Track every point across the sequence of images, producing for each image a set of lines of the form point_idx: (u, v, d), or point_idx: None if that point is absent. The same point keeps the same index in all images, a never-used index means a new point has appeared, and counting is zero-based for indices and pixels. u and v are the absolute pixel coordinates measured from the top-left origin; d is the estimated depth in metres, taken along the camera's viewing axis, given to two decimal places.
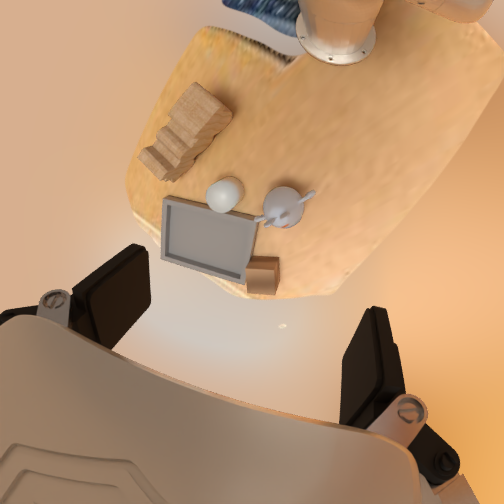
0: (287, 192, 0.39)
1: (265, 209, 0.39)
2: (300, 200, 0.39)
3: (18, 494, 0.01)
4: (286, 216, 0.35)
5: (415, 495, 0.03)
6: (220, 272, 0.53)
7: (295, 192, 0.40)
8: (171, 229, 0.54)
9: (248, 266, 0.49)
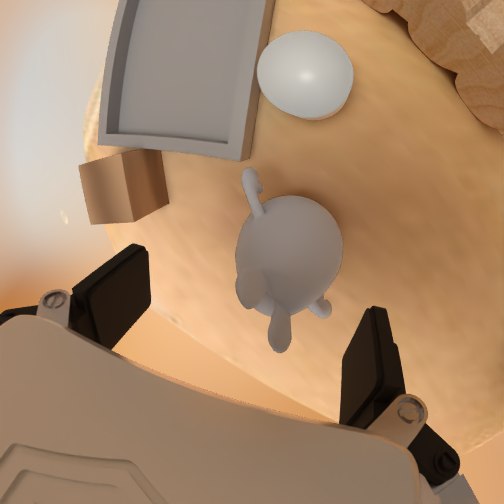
0: (335, 276, 0.15)
1: (289, 236, 0.12)
2: (313, 305, 0.15)
3: (18, 494, 0.01)
4: (282, 351, 0.11)
5: (415, 495, 0.03)
6: (112, 88, 0.18)
7: None
8: None
9: (127, 157, 0.17)
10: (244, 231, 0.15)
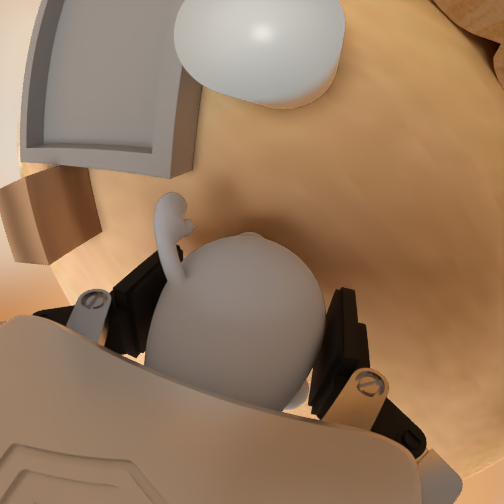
0: None
1: (214, 338, 0.06)
2: None
3: (18, 494, 0.01)
4: None
5: (415, 495, 0.03)
6: (32, 90, 0.11)
7: None
8: None
9: (34, 180, 0.11)
10: (157, 306, 0.08)
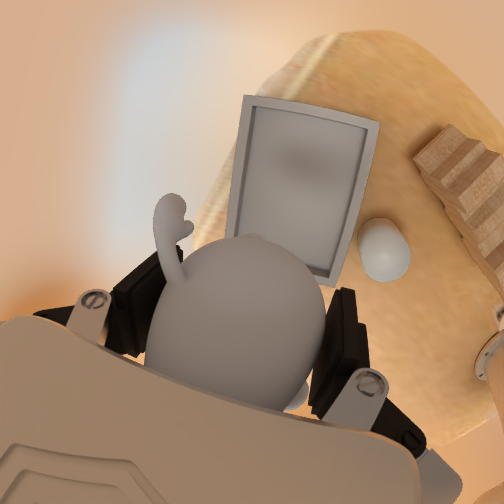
0: None
1: (214, 340, 0.06)
2: None
3: (18, 494, 0.01)
4: None
5: (415, 495, 0.03)
6: (236, 219, 0.30)
7: None
8: (309, 118, 0.25)
9: None
10: (156, 307, 0.08)
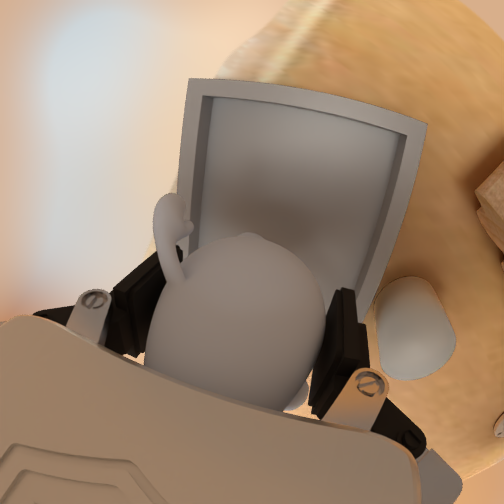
0: None
1: (214, 340, 0.06)
2: None
3: (18, 494, 0.01)
4: None
5: (415, 495, 0.03)
6: None
7: None
8: (303, 114, 0.14)
9: None
10: (156, 307, 0.08)
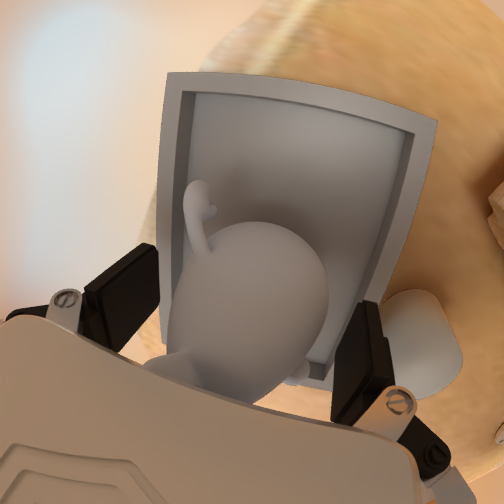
0: (313, 344, 0.10)
1: (237, 298, 0.08)
2: None
3: (18, 494, 0.01)
4: None
5: (415, 495, 0.03)
6: (173, 292, 0.17)
7: None
8: (296, 110, 0.12)
9: None
10: (181, 277, 0.10)
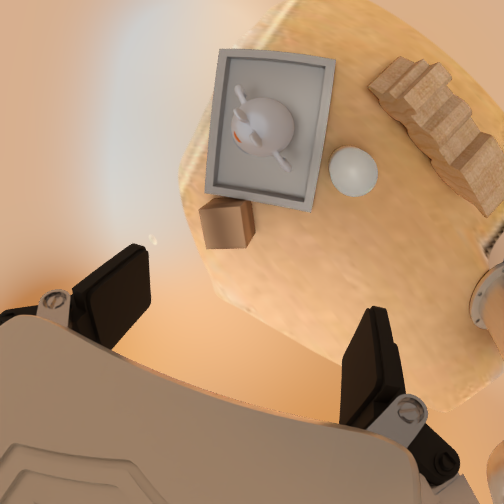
0: (288, 134, 0.24)
1: (259, 104, 0.22)
2: (277, 154, 0.25)
3: (18, 494, 0.01)
4: (256, 144, 0.20)
5: (415, 495, 0.03)
6: (216, 153, 0.32)
7: (287, 144, 0.26)
8: (276, 64, 0.26)
9: (241, 208, 0.31)
10: None
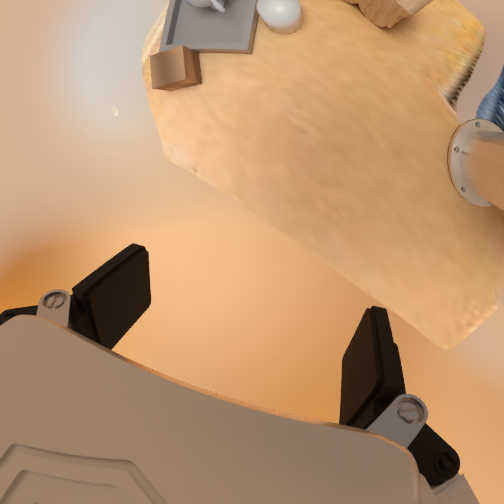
0: None
1: None
2: None
3: (18, 494, 0.01)
4: None
5: (415, 495, 0.03)
6: (171, 22, 0.28)
7: None
8: None
9: (184, 48, 0.28)
10: None
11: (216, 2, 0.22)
